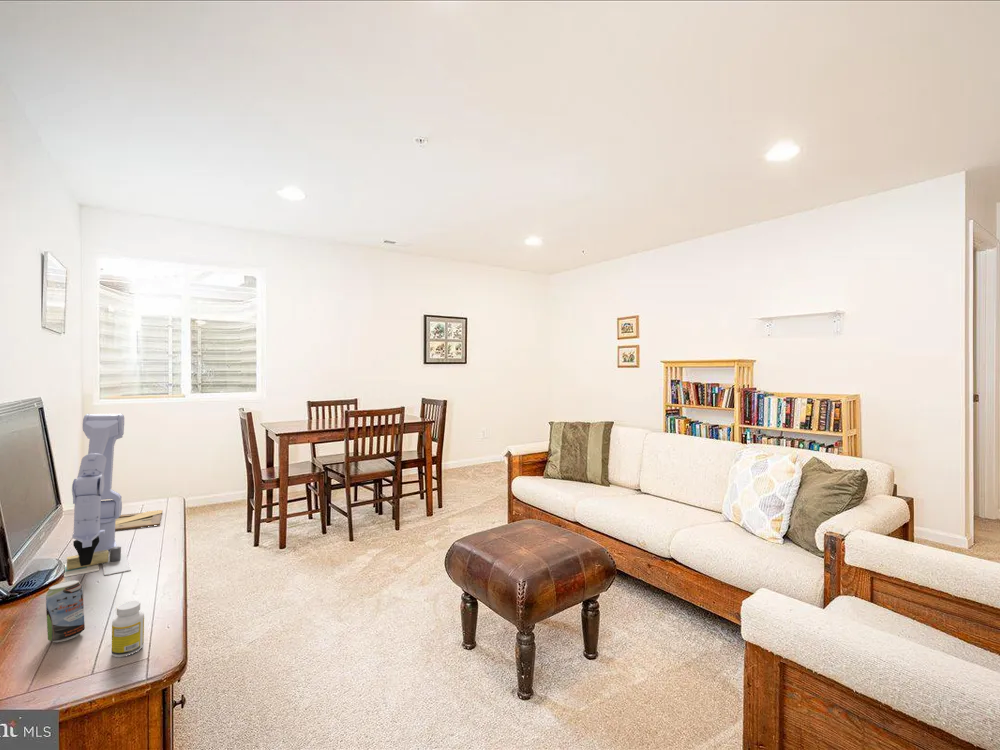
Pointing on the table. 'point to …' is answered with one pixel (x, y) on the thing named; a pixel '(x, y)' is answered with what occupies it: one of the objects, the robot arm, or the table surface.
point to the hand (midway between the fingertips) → (85, 564)
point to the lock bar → (97, 559)
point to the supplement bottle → (127, 629)
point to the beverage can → (65, 611)
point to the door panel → (105, 565)
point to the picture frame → (138, 520)
